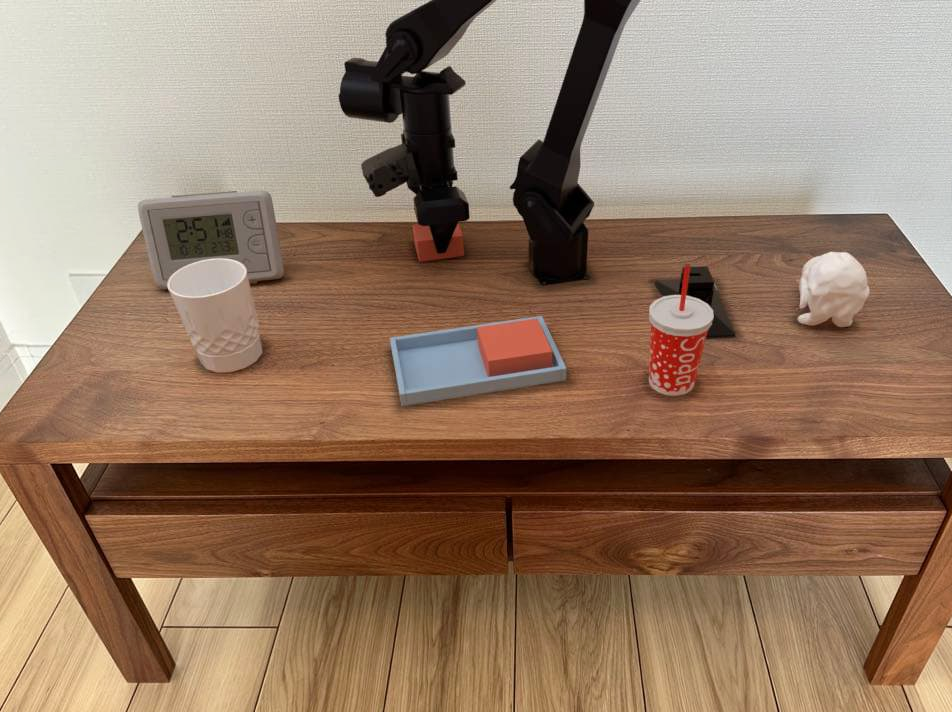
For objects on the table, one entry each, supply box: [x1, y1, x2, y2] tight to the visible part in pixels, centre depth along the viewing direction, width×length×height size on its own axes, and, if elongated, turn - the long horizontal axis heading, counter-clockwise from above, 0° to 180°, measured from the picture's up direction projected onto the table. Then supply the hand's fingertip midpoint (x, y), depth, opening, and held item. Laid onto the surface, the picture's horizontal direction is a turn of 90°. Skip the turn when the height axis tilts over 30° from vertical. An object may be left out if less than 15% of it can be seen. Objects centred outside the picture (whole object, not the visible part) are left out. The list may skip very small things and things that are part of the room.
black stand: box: [654, 265, 737, 339], centre depth 88 cm, size 12×7×5 cm, turn 1°
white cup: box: [167, 258, 263, 374], centre depth 81 cm, size 8×8×10 cm
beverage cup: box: [648, 263, 714, 397], centre depth 74 cm, size 6×6×14 cm
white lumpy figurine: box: [796, 251, 870, 328], centre depth 86 cm, size 6×8×12 cm
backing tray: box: [389, 315, 568, 407], centre depth 81 cm, size 17×10×2 cm, turn 103°
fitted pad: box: [477, 319, 552, 377], centre depth 81 cm, size 7×6×2 cm
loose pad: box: [411, 223, 465, 263], centre depth 101 cm, size 6×5×3 cm
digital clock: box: [137, 190, 285, 290], centre depth 95 cm, size 16×9×11 cm, turn 86°
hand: (438, 243), depth 101 cm, fingers closed on loose pad, 5 cm apart
